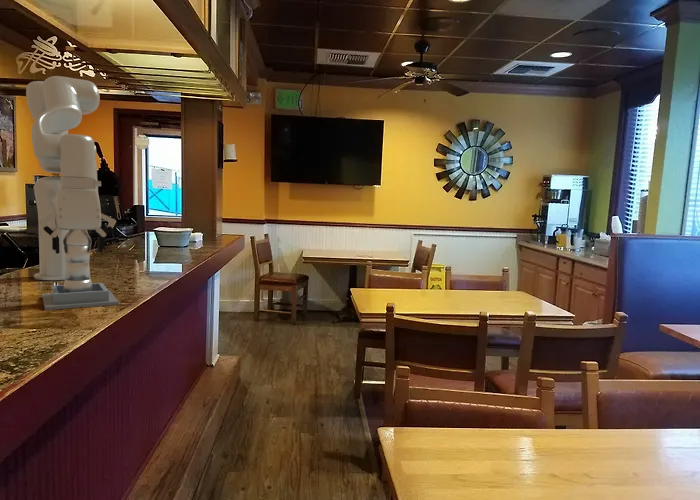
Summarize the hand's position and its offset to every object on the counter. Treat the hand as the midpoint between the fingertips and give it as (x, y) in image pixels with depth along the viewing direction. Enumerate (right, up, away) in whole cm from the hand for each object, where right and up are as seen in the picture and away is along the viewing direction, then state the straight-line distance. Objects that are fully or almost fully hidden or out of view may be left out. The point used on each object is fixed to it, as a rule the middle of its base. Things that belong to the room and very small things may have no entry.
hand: (79, 252), depth 128 cm
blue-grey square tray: (-1, -13, +1) cm, 13 cm away
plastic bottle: (-1, -12, +1) cm, 12 cm away
